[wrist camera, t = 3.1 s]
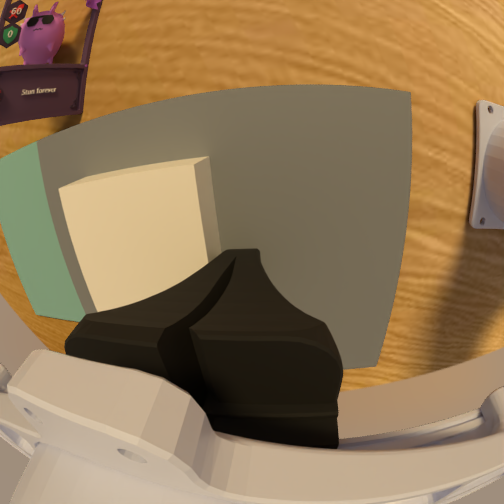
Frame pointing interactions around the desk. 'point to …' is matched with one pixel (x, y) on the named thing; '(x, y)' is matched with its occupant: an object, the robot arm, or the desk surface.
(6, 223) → the mat
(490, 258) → the desk surface
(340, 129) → the plate
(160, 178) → the beige rectangular block
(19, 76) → the game card
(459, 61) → the desk surface
